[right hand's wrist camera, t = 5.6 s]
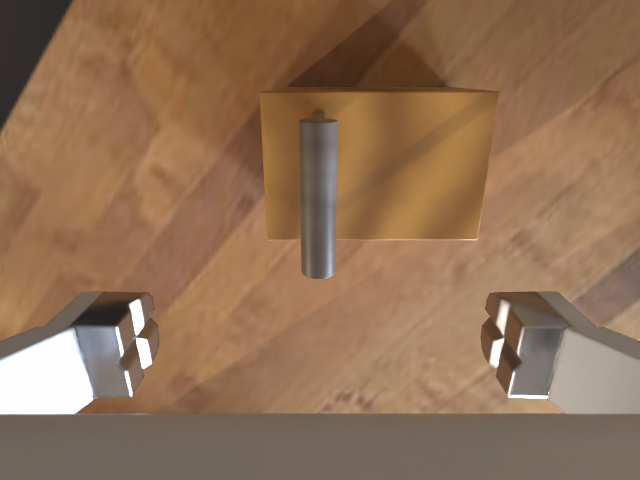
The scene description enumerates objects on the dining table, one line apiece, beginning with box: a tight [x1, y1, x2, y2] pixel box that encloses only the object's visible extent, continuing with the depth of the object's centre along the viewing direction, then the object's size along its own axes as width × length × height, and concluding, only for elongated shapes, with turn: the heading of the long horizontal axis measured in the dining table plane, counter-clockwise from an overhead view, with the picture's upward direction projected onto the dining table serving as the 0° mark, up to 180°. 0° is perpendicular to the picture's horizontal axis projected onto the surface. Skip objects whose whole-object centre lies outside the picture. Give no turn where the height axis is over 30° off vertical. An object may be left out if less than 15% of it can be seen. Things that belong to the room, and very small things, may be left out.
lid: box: [260, 91, 500, 279], centre depth 22 cm, size 14×9×8 cm, turn 90°
